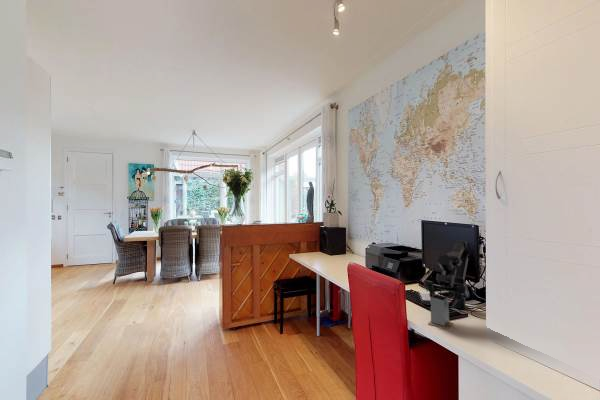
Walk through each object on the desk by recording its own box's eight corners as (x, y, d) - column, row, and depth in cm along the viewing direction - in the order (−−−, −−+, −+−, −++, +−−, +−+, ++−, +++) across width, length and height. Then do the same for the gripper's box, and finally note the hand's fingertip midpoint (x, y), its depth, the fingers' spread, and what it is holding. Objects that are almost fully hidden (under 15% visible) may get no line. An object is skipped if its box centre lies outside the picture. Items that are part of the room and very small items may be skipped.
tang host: (434, 320, 130) (433, 311, 130) (453, 325, 124) (452, 316, 124) (427, 325, 124) (427, 316, 124) (447, 331, 118) (447, 322, 118)
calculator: (422, 299, 147) (417, 289, 162) (422, 307, 148) (418, 296, 162) (443, 301, 144) (437, 290, 159) (444, 308, 144) (437, 297, 159)
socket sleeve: (435, 318, 128) (434, 294, 128) (449, 322, 124) (448, 297, 124) (431, 322, 124) (430, 297, 124) (444, 326, 120) (444, 300, 120)
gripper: (424, 264, 136) (416, 291, 129) (465, 270, 123) (459, 300, 115) (430, 276, 142) (423, 302, 134) (470, 283, 128) (465, 312, 120)
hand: (441, 304), depth 126 cm, fingers open, 9 cm apart
